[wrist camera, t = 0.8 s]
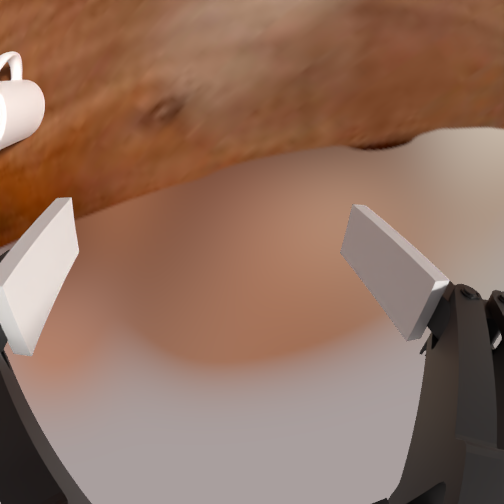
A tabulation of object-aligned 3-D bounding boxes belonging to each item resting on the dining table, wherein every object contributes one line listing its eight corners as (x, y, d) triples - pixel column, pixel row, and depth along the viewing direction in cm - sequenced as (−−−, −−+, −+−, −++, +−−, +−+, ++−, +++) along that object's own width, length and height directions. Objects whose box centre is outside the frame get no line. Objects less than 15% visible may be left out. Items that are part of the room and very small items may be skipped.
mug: (-45, 161, 21) (-42, 57, 15) (-3, 141, 30) (2, 57, 24) (5, 157, 23) (12, 42, 17) (44, 138, 32) (51, 49, 26)
